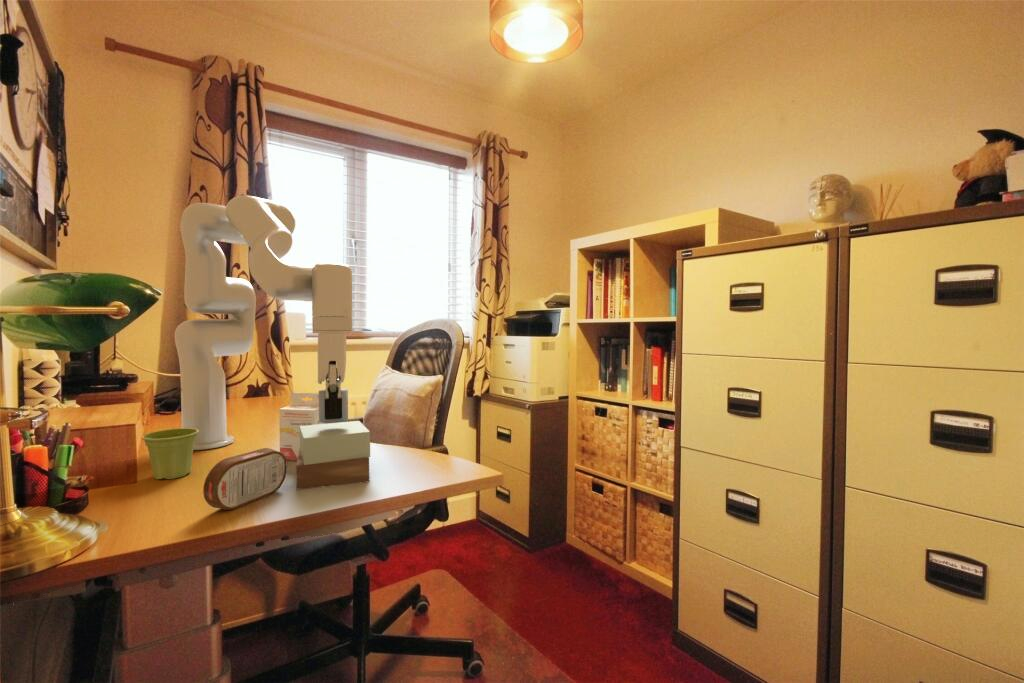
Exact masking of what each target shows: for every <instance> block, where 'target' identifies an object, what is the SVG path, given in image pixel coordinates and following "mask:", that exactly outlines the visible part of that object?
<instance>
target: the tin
mask: <svg viewBox="0 0 1024 683" xmlns="http://www.w3.org/2000/svg"><path fill="white" fill-rule="evenodd" d="M287 461H288V460H286V458H285V456H284V455H283V454H282V453H281V452H280V450H279V451H278V450H275V449H272V448H268V447H265V448H259V449H256V450H253V451H248V452H245V453H241V454H238V455H234V456H233V455H232V456H229V457H226V458H224V459H222V460H220V461H218V462H217V463H216V464H215V465H214V466H212V468H211V469H210V471H209V472H208V474H207V475H206V476H205V480H204V484H203V490H202V491H203V492H202V493H203V498H204V500H205V502H206V504H207V505H209V506H210V507H212V508H215V509H220V510H224V511H231V510H235V509H237V508H240V506H241V507H243V506H246V505H248V504H250V503H253V502H255V501H258V500H261V499H263V498H266V497H268V496H271V495H273V494H274V493H276V492H277V491H278V490H279V489H281V487H282V485H283V483H284V482H285V479H286V477H287V469H288V463H287Z"/></svg>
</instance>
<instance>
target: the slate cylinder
mask: <svg viewBox="0 0 1024 683" xmlns="http://www.w3.org/2000/svg"><path fill="white" fill-rule="evenodd" d="M318 393H319V422H321V423H324V424H328V423H340V422H348V421H349V389H348V388H347V389H346V388H341V398H342V418H341V419H328V420H326V419H325V399H326V388H325V389H320V390H318Z"/></svg>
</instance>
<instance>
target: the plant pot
mask: <svg viewBox="0 0 1024 683" xmlns="http://www.w3.org/2000/svg"><path fill="white" fill-rule="evenodd" d="M198 432H199V430H198V429H194V428H182V427H180V428H169V429H161V430H157V431H151V432H149V433H148V432H147V433H146V434H143V435H142V436H141V439H142V440H143V441H144V443H145V446H146V447H147V451H148V456H149V461H150V464H151V470H152V475H153V478H154V479H155V480H158V479H160V480H162V479H166V480H175V479H178V478H182V477H184V476H187V474H190V473H191V471H192V463H193V454H194V450H193V447H194V441H195V439H196V434H197V433H198Z"/></svg>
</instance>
